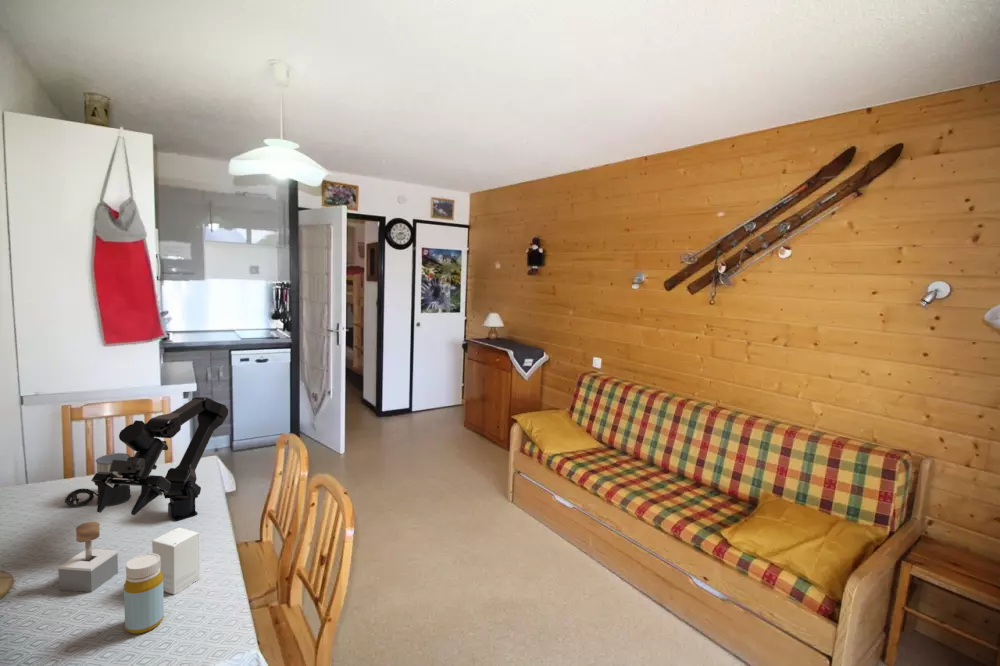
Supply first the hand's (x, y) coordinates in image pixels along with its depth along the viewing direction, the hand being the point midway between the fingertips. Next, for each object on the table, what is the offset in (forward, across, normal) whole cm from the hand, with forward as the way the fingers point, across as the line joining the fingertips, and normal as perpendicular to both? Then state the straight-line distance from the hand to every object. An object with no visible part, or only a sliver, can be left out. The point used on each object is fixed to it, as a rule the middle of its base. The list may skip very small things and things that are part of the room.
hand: (115, 513), depth 131 cm
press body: (+16, 0, +3) cm, 16 cm away
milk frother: (-12, -31, +32) cm, 46 cm away
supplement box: (+15, +21, +5) cm, 26 cm away
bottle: (+25, +24, -6) cm, 35 cm away
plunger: (+12, 0, 0) cm, 12 cm away
